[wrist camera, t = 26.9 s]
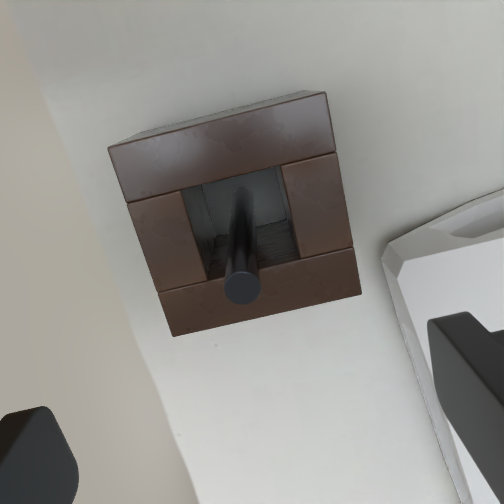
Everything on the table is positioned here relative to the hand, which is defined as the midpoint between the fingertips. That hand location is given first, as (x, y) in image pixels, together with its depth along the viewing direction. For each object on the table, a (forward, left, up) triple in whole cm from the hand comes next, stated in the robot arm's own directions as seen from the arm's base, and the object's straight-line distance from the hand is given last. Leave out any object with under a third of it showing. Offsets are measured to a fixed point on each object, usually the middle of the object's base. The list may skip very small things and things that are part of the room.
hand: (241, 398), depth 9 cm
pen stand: (0, 0, -20) cm, 20 cm away
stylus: (0, 0, -20) cm, 20 cm away
